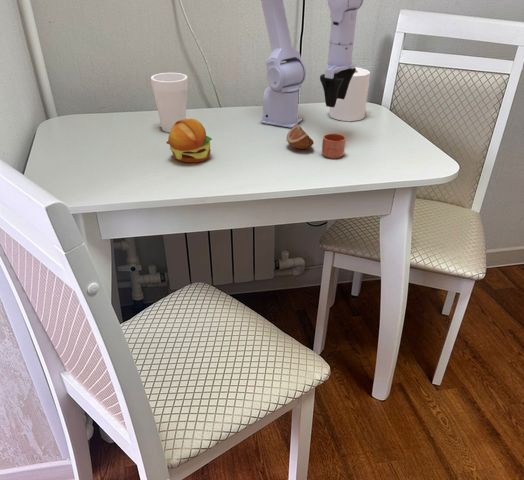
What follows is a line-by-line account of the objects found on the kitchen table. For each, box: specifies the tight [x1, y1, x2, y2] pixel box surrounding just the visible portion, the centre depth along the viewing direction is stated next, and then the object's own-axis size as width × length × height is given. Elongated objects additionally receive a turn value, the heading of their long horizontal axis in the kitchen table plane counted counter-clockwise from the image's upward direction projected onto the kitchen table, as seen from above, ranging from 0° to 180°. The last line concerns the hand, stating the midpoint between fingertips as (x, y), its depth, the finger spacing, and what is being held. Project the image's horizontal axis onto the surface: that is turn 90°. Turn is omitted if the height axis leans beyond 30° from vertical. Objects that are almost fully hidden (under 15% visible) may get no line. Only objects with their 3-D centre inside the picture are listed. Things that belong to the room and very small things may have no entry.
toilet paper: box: [329, 66, 371, 122], centre depth 157 cm, size 10×10×12 cm
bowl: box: [321, 133, 347, 160], centre depth 135 cm, size 6×6×4 cm
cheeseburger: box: [165, 118, 213, 163], centre depth 131 cm, size 10×11×10 cm
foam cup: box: [150, 72, 189, 133], centre depth 146 cm, size 10×9×13 cm
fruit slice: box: [286, 123, 315, 150], centre depth 138 cm, size 8×7×5 cm
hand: (335, 102), depth 139 cm, fingers open, 7 cm apart
